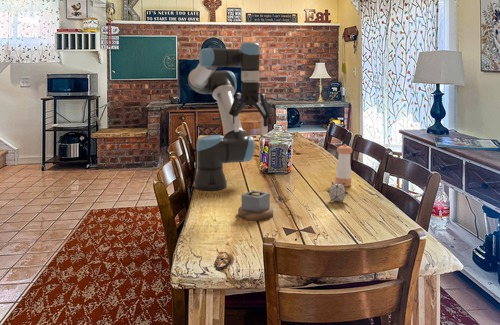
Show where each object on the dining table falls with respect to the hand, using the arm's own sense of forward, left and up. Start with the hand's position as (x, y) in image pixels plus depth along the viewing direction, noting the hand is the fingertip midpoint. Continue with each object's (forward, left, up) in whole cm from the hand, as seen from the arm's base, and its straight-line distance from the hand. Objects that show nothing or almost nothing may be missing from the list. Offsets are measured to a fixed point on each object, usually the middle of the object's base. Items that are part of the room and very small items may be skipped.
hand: (250, 132), depth 181 cm
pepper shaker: (+28, +37, -27) cm, 54 cm away
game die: (+36, +10, -27) cm, 46 cm away
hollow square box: (+17, -22, -25) cm, 37 cm away
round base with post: (+17, -22, -27) cm, 38 cm away
